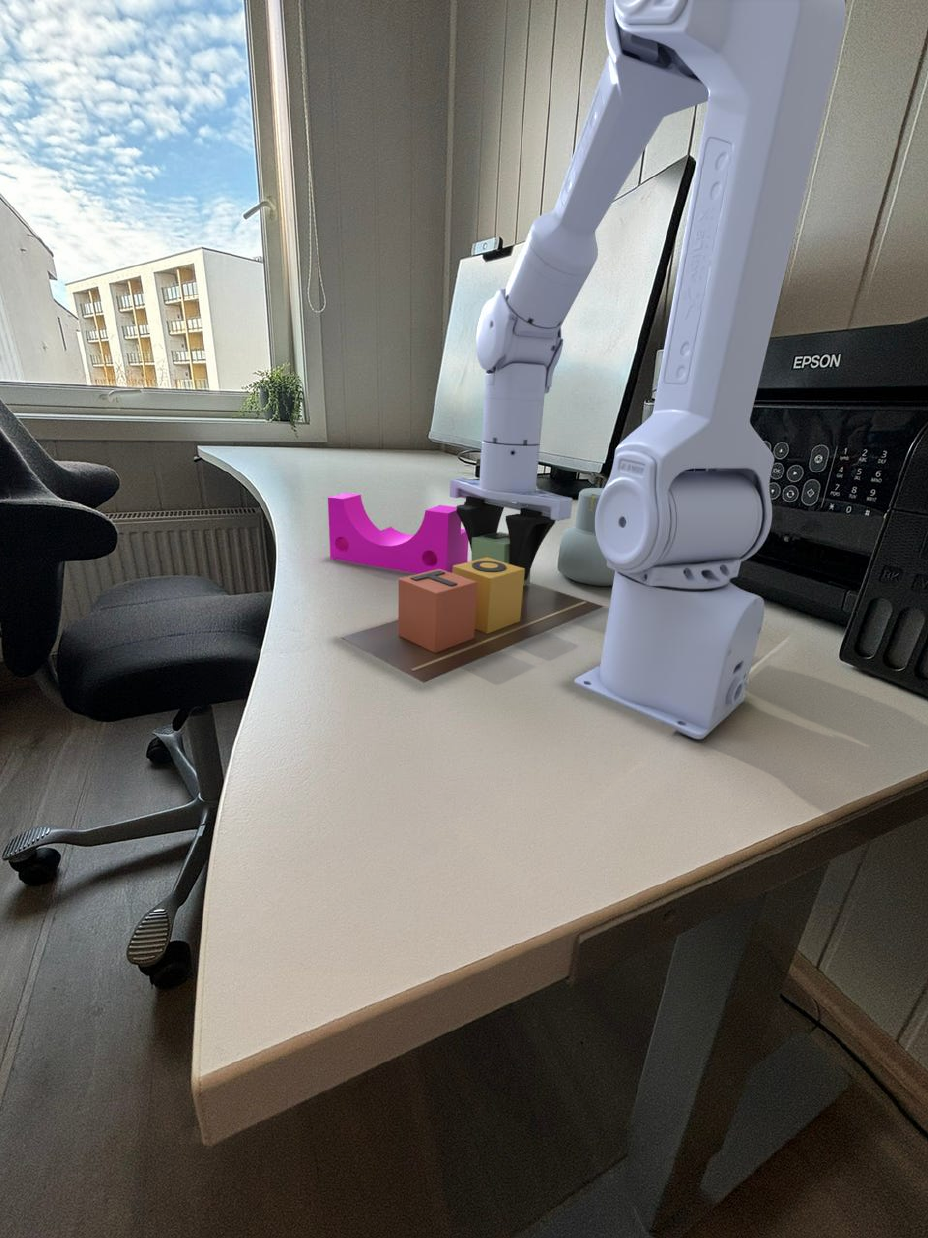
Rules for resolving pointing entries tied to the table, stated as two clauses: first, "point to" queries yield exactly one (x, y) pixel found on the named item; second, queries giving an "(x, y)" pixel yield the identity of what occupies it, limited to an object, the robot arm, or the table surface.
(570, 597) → the word board
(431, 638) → the orange letter t block
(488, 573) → the yellow cube
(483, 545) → the green square block
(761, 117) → the robot arm
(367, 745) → the table surface
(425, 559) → the toy block
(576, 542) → the air freshener
